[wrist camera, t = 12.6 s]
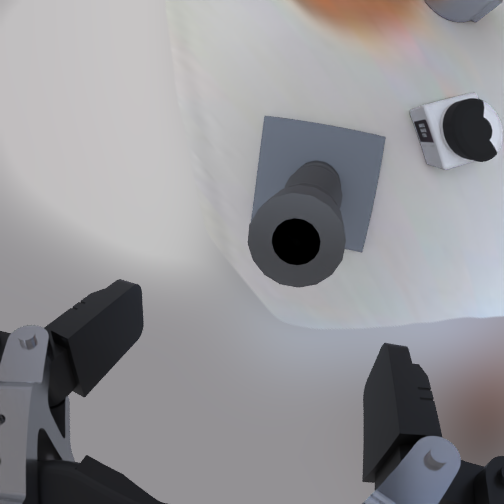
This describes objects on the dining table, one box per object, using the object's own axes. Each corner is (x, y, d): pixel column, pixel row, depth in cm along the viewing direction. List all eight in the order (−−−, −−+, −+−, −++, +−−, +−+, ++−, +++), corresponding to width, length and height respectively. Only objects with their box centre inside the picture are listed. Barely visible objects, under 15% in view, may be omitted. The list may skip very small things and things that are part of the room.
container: (426, 165, 37) (461, 176, 25) (407, 110, 35) (437, 99, 24) (472, 151, 35) (518, 159, 23) (454, 97, 33) (497, 86, 21)
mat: (384, 137, 38) (385, 137, 37) (361, 249, 43) (362, 252, 43) (266, 116, 40) (264, 115, 40) (251, 227, 46) (250, 229, 45)
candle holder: (331, 213, 42) (326, 305, 19) (287, 197, 43) (231, 269, 20) (347, 170, 39) (366, 211, 17) (302, 153, 40) (260, 172, 17)
